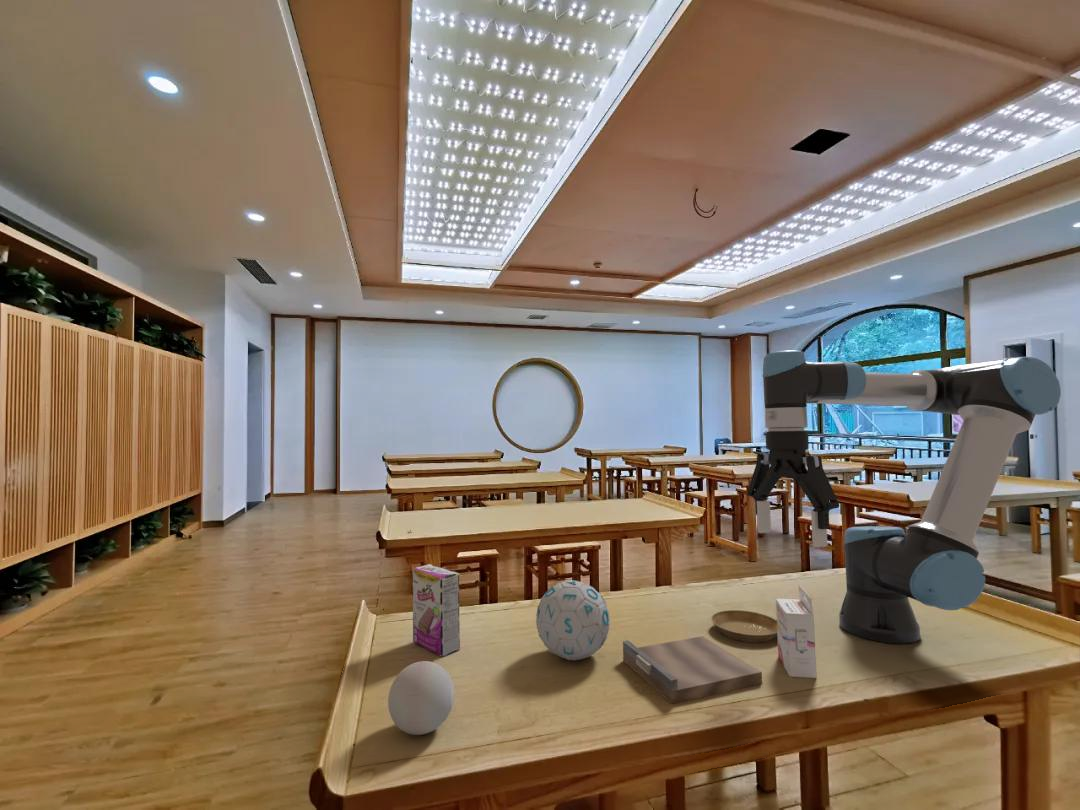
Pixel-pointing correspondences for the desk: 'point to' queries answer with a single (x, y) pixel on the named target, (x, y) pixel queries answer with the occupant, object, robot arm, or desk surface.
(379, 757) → the desk surface
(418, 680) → the grey sphere
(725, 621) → the plant saucer
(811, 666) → the ink cartridge box
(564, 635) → the puzzle ball
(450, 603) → the candy bar box
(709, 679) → the flat brown box
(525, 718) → the desk surface
